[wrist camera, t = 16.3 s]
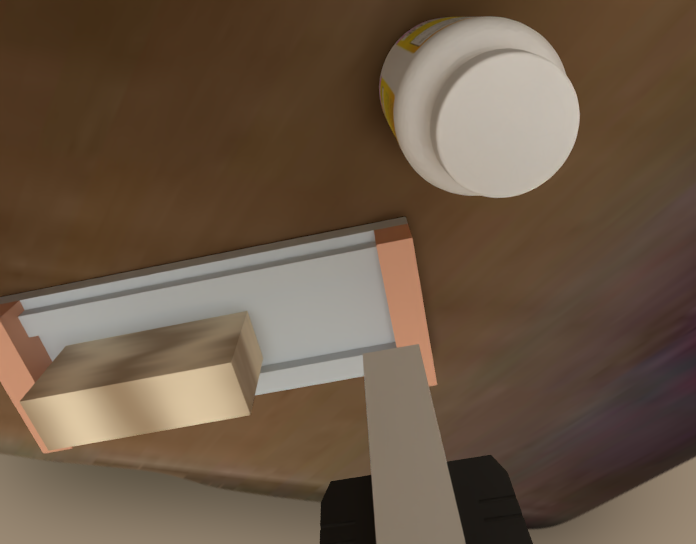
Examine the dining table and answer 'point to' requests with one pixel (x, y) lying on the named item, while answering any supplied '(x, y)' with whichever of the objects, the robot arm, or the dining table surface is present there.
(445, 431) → the dining table surface
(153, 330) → the tan wooden block
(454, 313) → the dining table surface
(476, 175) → the supplement bottle
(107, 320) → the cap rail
